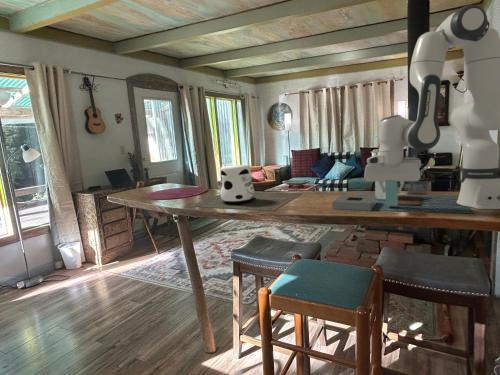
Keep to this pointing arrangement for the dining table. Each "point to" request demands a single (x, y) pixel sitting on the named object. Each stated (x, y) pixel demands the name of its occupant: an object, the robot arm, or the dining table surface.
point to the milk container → (236, 184)
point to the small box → (379, 191)
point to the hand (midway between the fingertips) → (391, 192)
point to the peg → (391, 193)
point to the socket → (355, 202)
